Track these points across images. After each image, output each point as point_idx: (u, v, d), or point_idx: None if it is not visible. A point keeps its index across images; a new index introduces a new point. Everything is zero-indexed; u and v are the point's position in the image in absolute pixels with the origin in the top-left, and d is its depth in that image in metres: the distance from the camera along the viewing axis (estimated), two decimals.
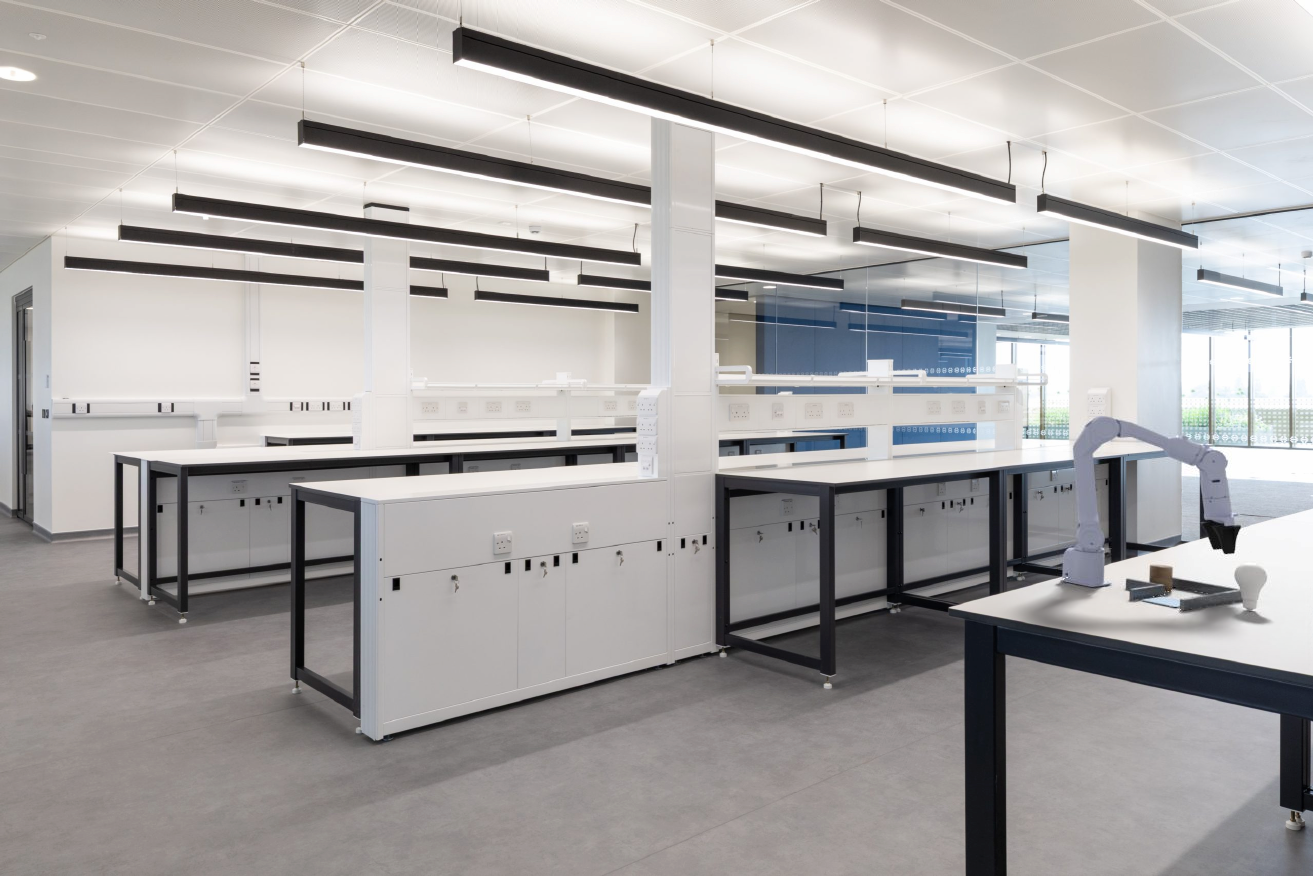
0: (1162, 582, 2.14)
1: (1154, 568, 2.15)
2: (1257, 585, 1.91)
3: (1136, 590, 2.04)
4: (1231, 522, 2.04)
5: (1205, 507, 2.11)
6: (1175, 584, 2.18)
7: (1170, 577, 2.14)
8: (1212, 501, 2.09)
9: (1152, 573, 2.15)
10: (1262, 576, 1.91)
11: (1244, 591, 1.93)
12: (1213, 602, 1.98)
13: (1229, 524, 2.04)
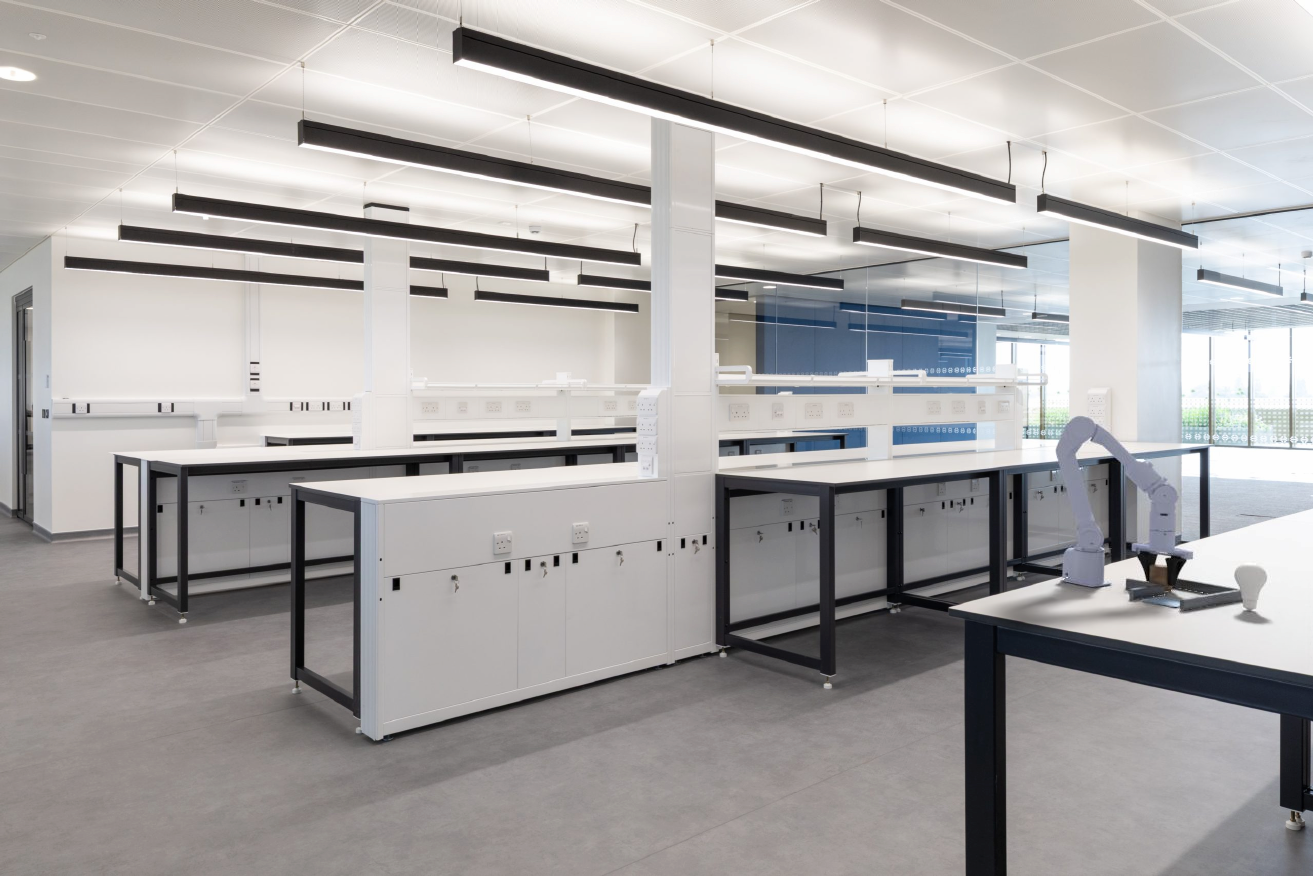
0: (1162, 582, 2.14)
1: (1154, 568, 2.15)
2: (1257, 585, 1.91)
3: (1136, 590, 2.04)
4: (1191, 556, 2.09)
5: (1157, 540, 2.14)
6: None
7: None
8: (1167, 534, 2.13)
9: (1152, 573, 2.15)
10: (1262, 576, 1.91)
11: (1244, 591, 1.93)
12: (1213, 602, 1.98)
13: (1190, 558, 2.09)
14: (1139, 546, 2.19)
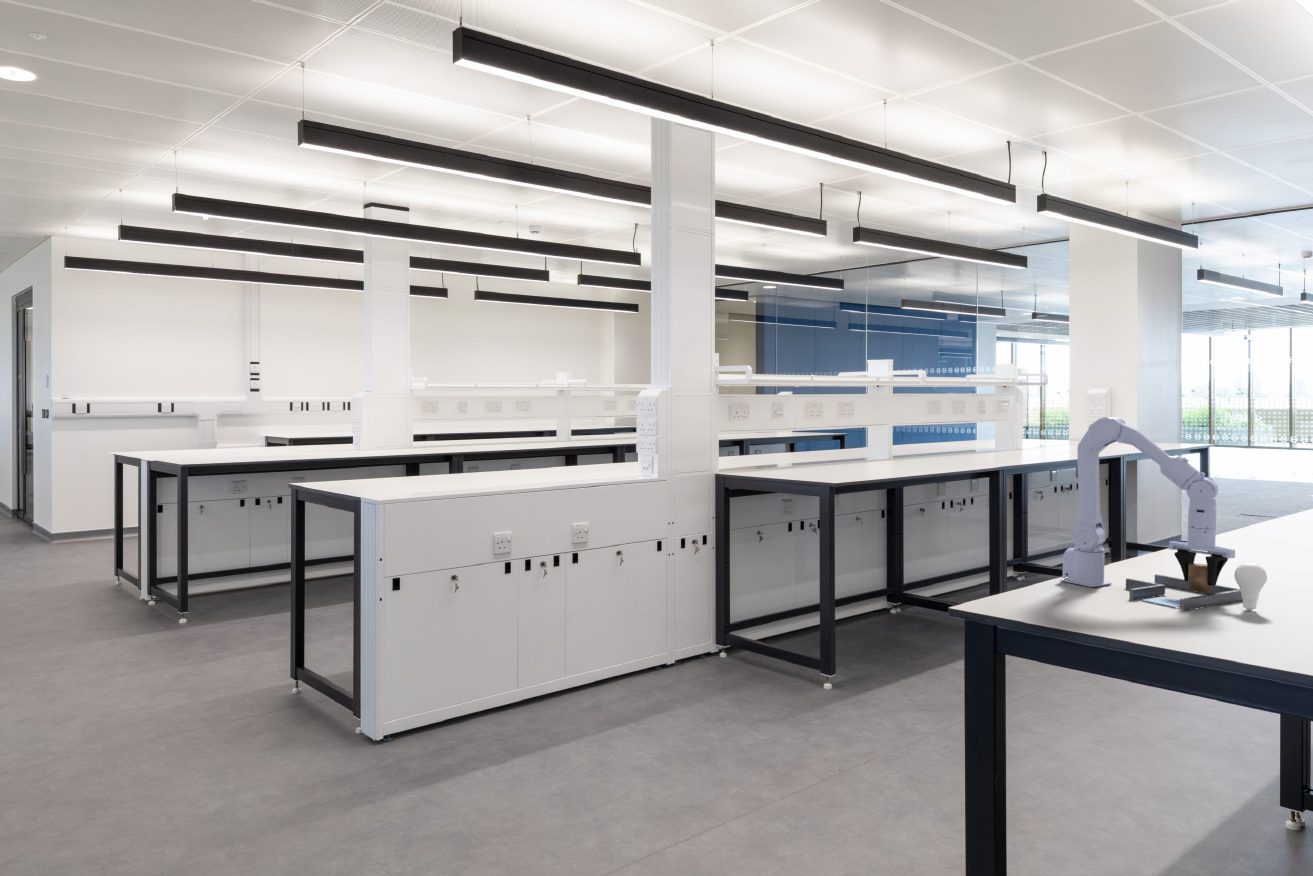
0: (1202, 582, 2.04)
1: (1193, 567, 2.06)
2: (1257, 585, 1.91)
3: (1136, 590, 2.04)
4: (1233, 554, 2.00)
5: (1197, 537, 2.05)
6: (1175, 584, 2.18)
7: None
8: (1207, 532, 2.03)
9: (1191, 572, 2.06)
10: (1262, 576, 1.91)
11: (1244, 591, 1.93)
12: (1213, 602, 1.98)
13: (1232, 556, 2.00)
14: (1177, 544, 2.10)
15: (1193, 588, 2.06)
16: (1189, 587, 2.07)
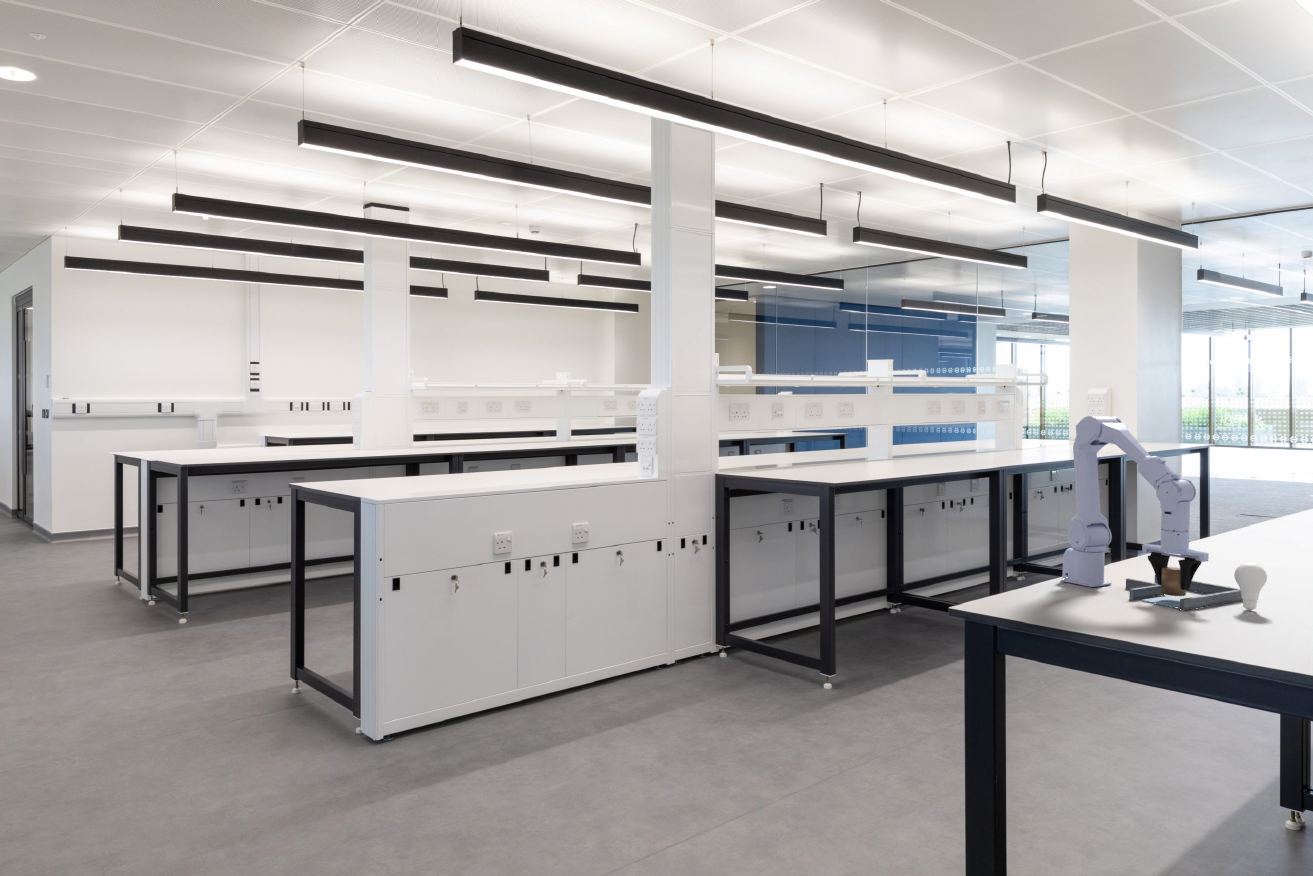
0: (1175, 586, 1.99)
1: (1166, 571, 2.01)
2: (1257, 585, 1.91)
3: (1136, 590, 2.04)
4: (1206, 558, 1.95)
5: (1170, 540, 2.00)
6: None
7: None
8: (1181, 534, 1.98)
9: (1164, 576, 2.01)
10: (1262, 576, 1.91)
11: (1244, 591, 1.93)
12: (1213, 602, 1.98)
13: (1205, 560, 1.95)
14: (1150, 547, 2.05)
15: (1166, 592, 2.01)
16: (1162, 591, 2.02)
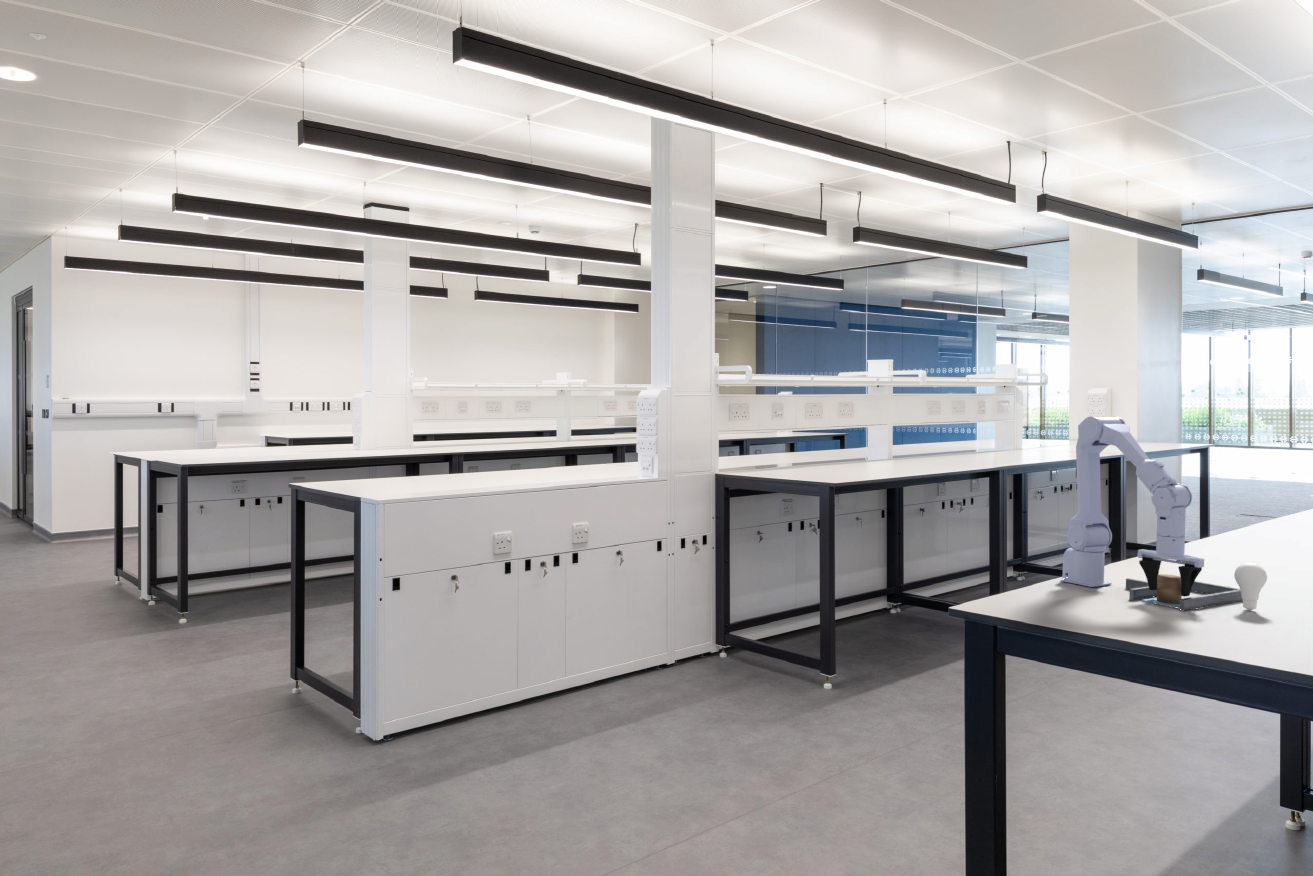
0: (1171, 593, 1.99)
1: (1162, 578, 2.00)
2: (1257, 585, 1.91)
3: (1136, 590, 2.04)
4: (1202, 564, 1.94)
5: (1165, 546, 1.99)
6: None
7: (1179, 588, 1.99)
8: (1176, 540, 1.98)
9: (1160, 583, 2.00)
10: (1262, 576, 1.91)
11: (1244, 591, 1.93)
12: (1213, 602, 1.98)
13: (1201, 566, 1.94)
14: (1146, 553, 2.04)
15: (1162, 600, 2.00)
16: (1158, 599, 2.01)
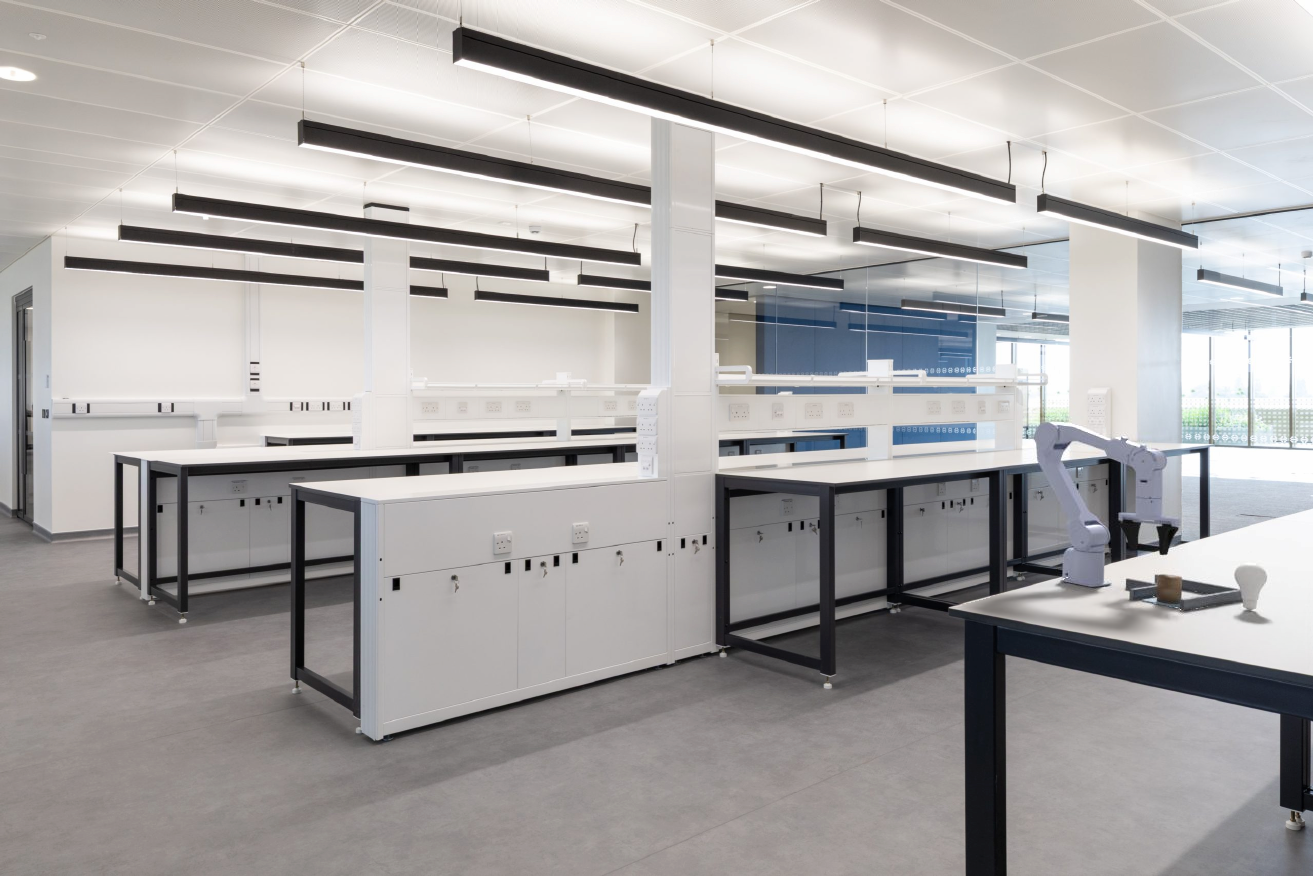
0: (1171, 593, 1.99)
1: (1162, 578, 2.00)
2: (1257, 585, 1.91)
3: (1136, 590, 2.04)
4: (1178, 523, 2.04)
5: (1144, 507, 2.08)
6: None
7: (1179, 588, 1.99)
8: (1154, 501, 2.07)
9: (1160, 583, 2.00)
10: (1262, 576, 1.91)
11: (1244, 591, 1.93)
12: (1213, 602, 1.98)
13: (1177, 525, 2.04)
14: (1126, 515, 2.14)
15: (1162, 600, 2.00)
16: (1158, 599, 2.01)
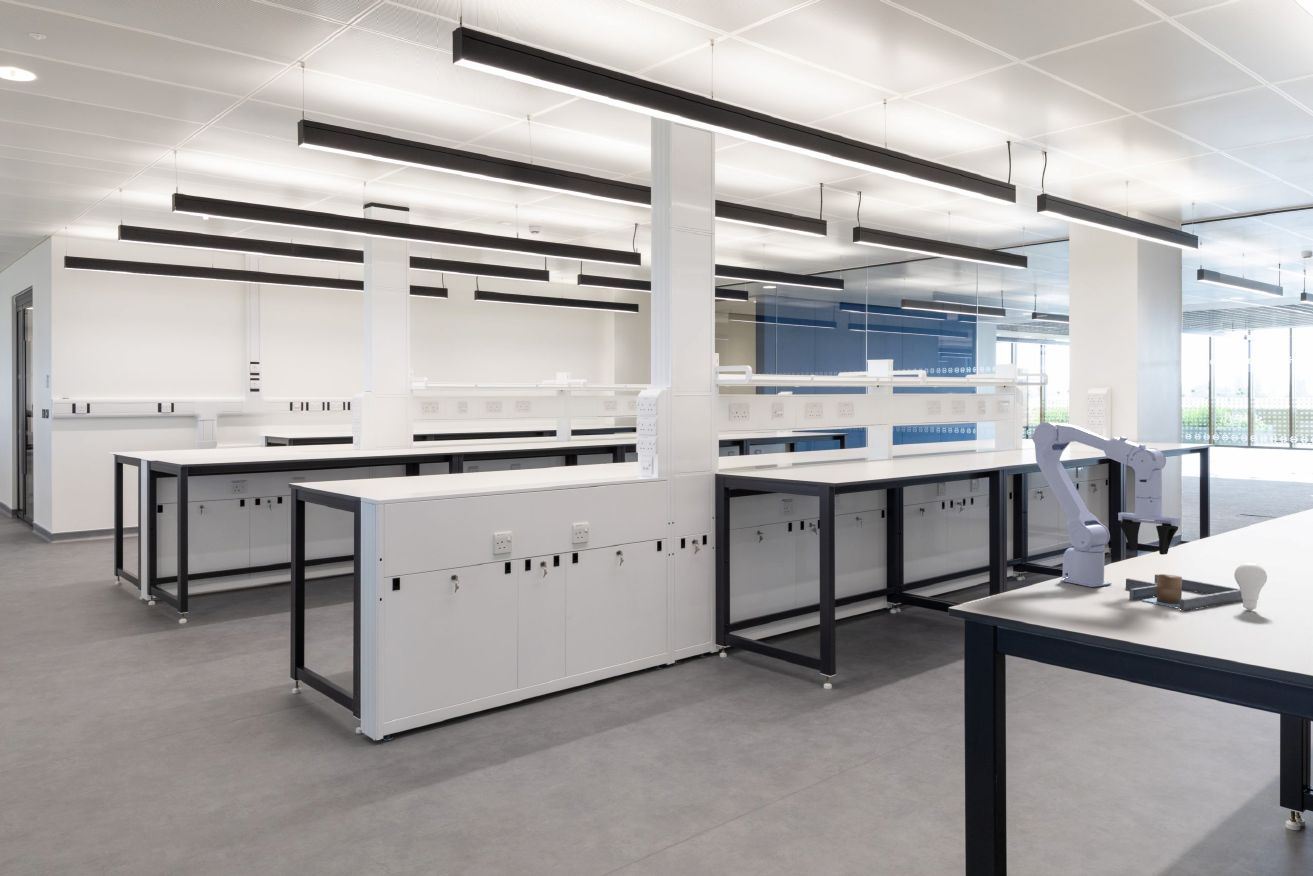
0: (1171, 593, 1.99)
1: (1162, 578, 2.00)
2: (1257, 585, 1.91)
3: (1136, 590, 2.04)
4: (1178, 522, 2.04)
5: (1143, 507, 2.09)
6: None
7: (1179, 588, 1.99)
8: (1153, 501, 2.08)
9: (1160, 583, 2.00)
10: (1262, 576, 1.91)
11: (1244, 591, 1.93)
12: (1213, 602, 1.98)
13: (1177, 524, 2.04)
14: (1125, 515, 2.14)
15: (1162, 600, 2.00)
16: (1158, 599, 2.01)
